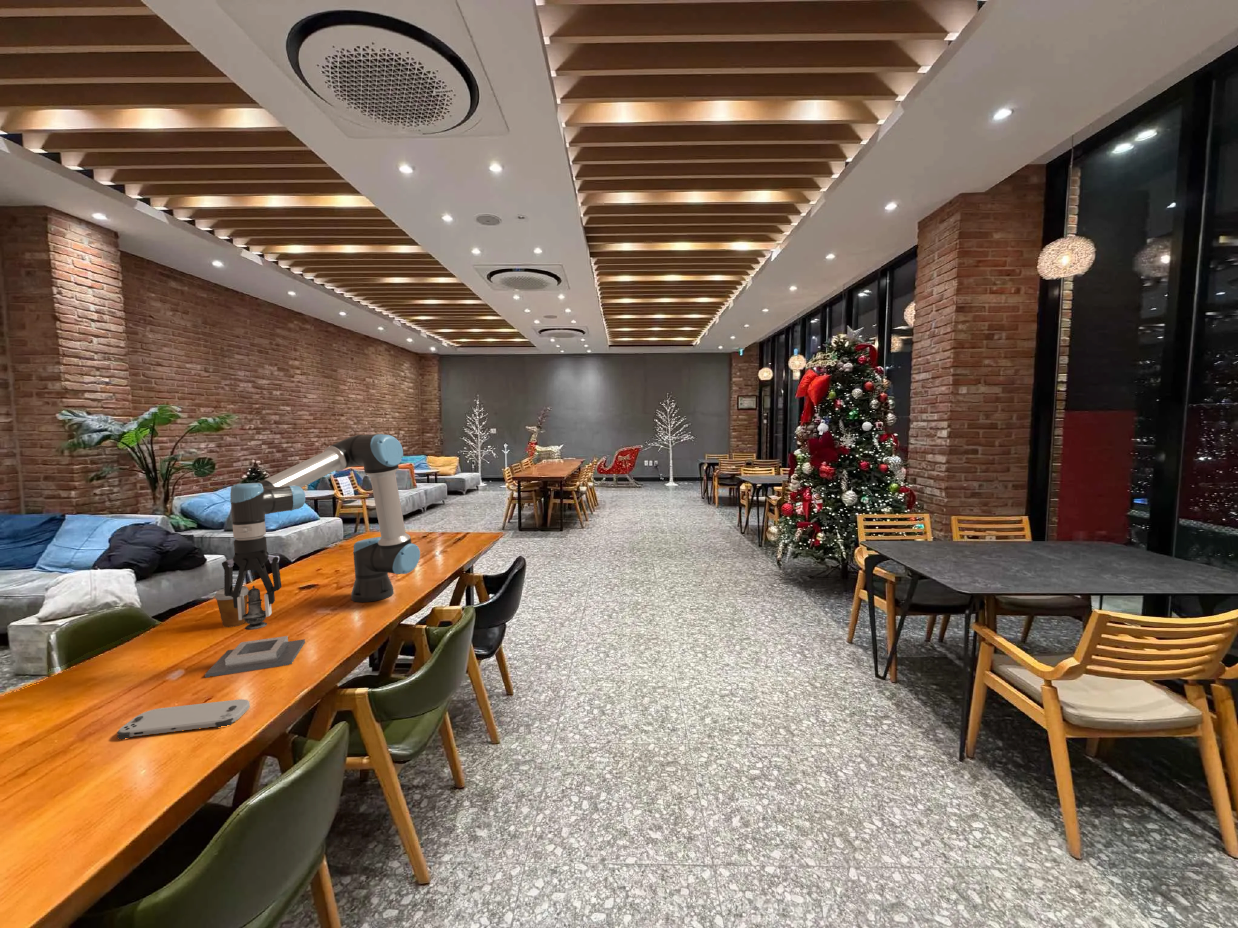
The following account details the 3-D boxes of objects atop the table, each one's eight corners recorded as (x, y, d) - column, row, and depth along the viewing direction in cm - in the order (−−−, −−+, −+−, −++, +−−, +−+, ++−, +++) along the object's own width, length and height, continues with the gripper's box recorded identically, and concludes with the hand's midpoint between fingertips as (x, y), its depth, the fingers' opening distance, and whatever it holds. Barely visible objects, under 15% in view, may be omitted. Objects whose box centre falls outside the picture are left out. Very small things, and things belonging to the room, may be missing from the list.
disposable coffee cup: (258, 618, 179) (255, 585, 178) (235, 629, 169) (232, 594, 168) (233, 618, 180) (231, 585, 179) (209, 628, 170) (206, 594, 169)
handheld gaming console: (254, 693, 122) (231, 716, 112) (255, 704, 122) (232, 728, 112) (144, 705, 118) (110, 730, 108) (145, 717, 118) (111, 743, 108)
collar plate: (305, 642, 157) (304, 631, 157) (291, 664, 142) (290, 652, 142) (227, 653, 151) (227, 641, 150) (205, 677, 136) (204, 665, 135)
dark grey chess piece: (273, 623, 148) (270, 583, 147) (252, 631, 142) (250, 589, 141) (259, 621, 150) (256, 581, 149) (238, 628, 144) (235, 587, 143)
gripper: (204, 543, 137) (210, 626, 139) (284, 536, 144) (289, 616, 145) (215, 537, 144) (221, 616, 146) (291, 532, 151) (296, 607, 152)
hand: (255, 616), depth 146 cm, fingers closed on dark grey chess piece, 6 cm apart
